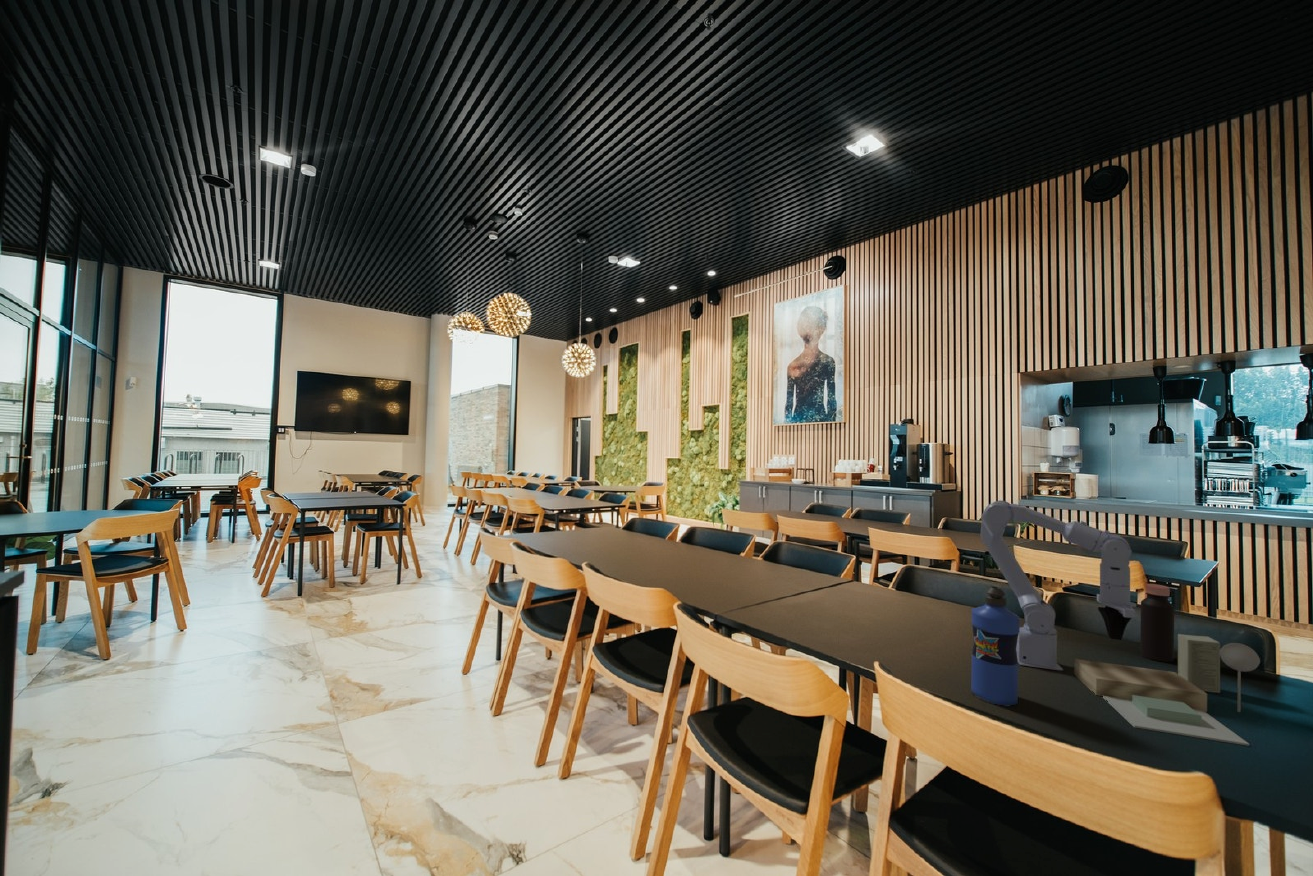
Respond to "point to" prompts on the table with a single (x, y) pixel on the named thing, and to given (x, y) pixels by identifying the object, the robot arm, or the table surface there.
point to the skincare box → (1199, 661)
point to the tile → (1166, 710)
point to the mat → (1175, 723)
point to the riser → (1138, 683)
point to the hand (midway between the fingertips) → (1115, 638)
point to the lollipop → (1239, 662)
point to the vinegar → (1157, 624)
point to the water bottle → (995, 650)
